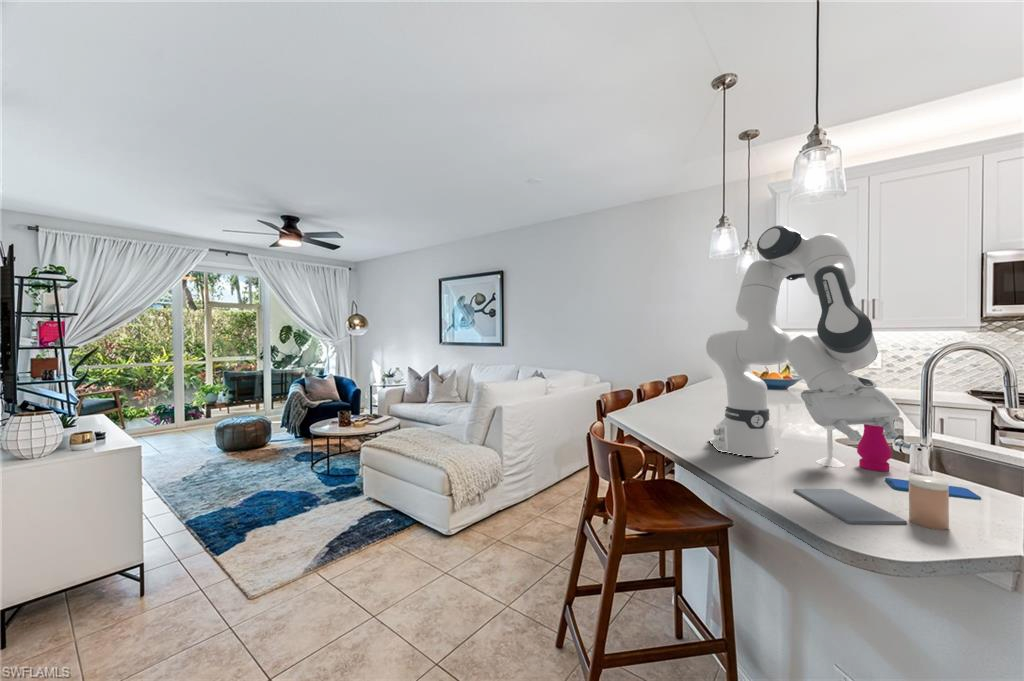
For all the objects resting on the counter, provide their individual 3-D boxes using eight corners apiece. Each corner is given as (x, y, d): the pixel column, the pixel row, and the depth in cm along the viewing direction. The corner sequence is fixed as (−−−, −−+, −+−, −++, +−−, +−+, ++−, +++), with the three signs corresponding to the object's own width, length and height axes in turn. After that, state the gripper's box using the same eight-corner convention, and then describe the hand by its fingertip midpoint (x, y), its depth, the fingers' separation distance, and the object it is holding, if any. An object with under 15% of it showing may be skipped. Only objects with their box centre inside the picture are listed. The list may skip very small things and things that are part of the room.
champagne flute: (851, 465, 115) (850, 381, 115) (832, 468, 114) (831, 382, 114) (827, 459, 122) (827, 378, 122) (809, 461, 120) (808, 379, 120)
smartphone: (983, 498, 91) (894, 486, 98) (983, 503, 91) (894, 490, 98) (966, 487, 97) (883, 477, 104) (966, 491, 97) (883, 481, 104)
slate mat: (793, 491, 98) (793, 488, 98) (841, 491, 97) (841, 488, 97) (848, 523, 81) (848, 520, 81) (906, 524, 80) (906, 521, 80)
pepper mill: (877, 464, 117) (877, 394, 117) (899, 472, 110) (898, 398, 109) (850, 463, 117) (850, 394, 117) (870, 471, 110) (869, 398, 110)
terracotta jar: (901, 517, 83) (900, 475, 83) (929, 517, 83) (929, 475, 83) (927, 529, 78) (926, 485, 78) (957, 529, 77) (957, 485, 77)
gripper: (804, 382, 97) (844, 432, 87) (879, 380, 100) (925, 428, 90) (789, 398, 101) (825, 448, 92) (861, 396, 104) (903, 443, 95)
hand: (875, 438), depth 91 cm, fingers open, 8 cm apart
